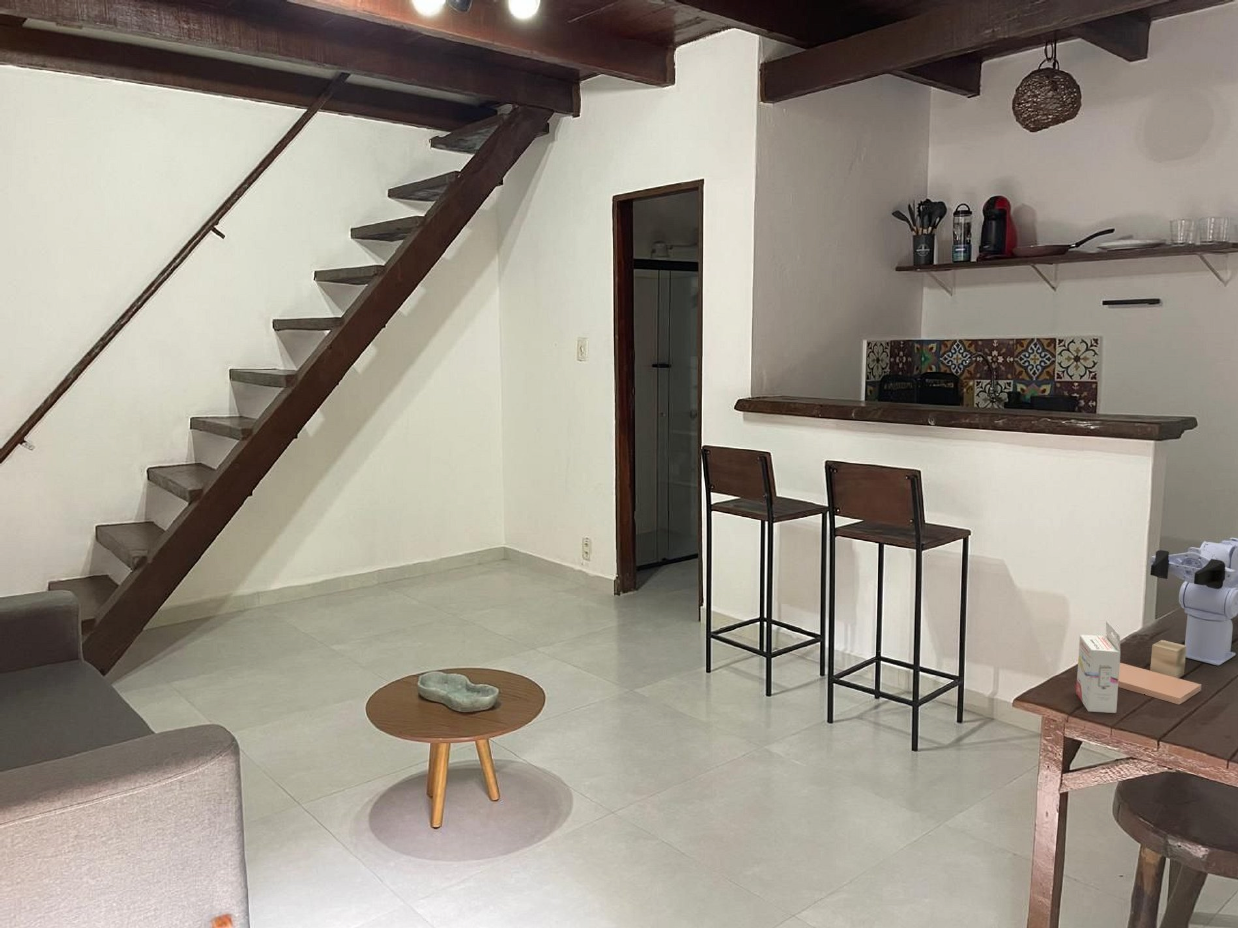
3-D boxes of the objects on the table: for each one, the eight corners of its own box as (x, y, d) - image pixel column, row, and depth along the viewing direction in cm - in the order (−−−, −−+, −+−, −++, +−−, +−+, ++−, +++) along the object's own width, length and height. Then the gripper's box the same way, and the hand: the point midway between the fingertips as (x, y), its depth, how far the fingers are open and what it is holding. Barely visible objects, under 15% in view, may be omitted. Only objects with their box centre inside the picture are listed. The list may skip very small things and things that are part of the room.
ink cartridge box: (1074, 693, 175) (1079, 618, 173) (1102, 695, 174) (1108, 619, 172) (1087, 711, 167) (1092, 633, 164) (1117, 714, 166) (1123, 634, 163)
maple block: (1159, 668, 187) (1161, 639, 186) (1183, 674, 183) (1186, 645, 182) (1149, 673, 184) (1152, 644, 183) (1174, 680, 181) (1177, 650, 180)
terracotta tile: (1118, 667, 187) (1118, 662, 187) (1200, 690, 175) (1201, 684, 175) (1095, 680, 181) (1095, 674, 181) (1179, 704, 169) (1179, 698, 169)
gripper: (1165, 537, 191) (1136, 546, 183) (1245, 551, 180) (1218, 561, 171) (1161, 571, 192) (1132, 581, 184) (1241, 586, 181) (1214, 598, 172)
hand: (1174, 574), depth 178 cm, fingers open, 7 cm apart
